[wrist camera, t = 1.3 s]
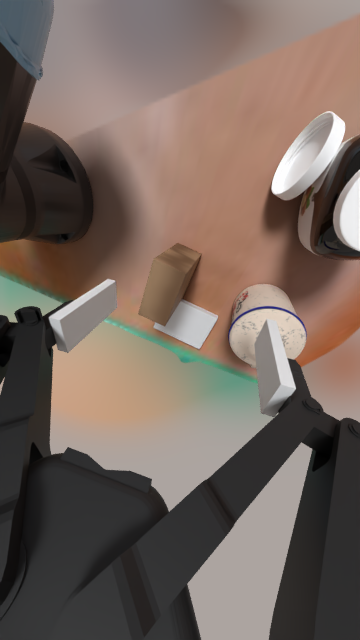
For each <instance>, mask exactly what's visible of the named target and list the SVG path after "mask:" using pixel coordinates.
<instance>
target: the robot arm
mask: <svg viewBox="0 0 360 640" xmlns="http://www.w3.org/2000/svg"><path fill="white" fill-rule="evenodd" d="M53 2H54V1H53V0H0V243H3V242H8V241H13V240H19V239H27V240H33V241H39V242H45V243H51V244H64V243H68V242H73V241H76V240H78V239H79V238H81V237H82V236H83V235H84V234H85V233H86V231H87V230H88V228H89V226H90V223H91V219H92V213H93V199H92V192H91V188H90V184H89V180H88V178H87V175H86V172H85V170H84V168H83V166H82V164H81V162H80V161H79V159H78V157H77V156H76V154H75V153H74V151H73V150H72V149H71V148H70V146H69V145H68V144H67V143H66V142H65V141H64V140H63V139H61V138H60V137H59V136H58V135H56V134H55V133H53V132H52V131H50V130H47V129H45V128H42V127H39V126H37V125H34V124H31V123H26V122H23V121H24V118H25V115H26V112H27V109H28V106H29V103H30V99H31V96H32V93H33V90H34V87H35V84H36V80H39V79H41V77H42V75H43V70H42V66H41V64H42V60H43V56H44V52H45V47H46V43H47V39H48V35H49V31H50V27H51V23H52V19H53V12H54V3H53ZM116 308H117V294H116V281H114V280H110V279H107V280H106V281H104V282H102V283H101V284H99V285H98V286H96V287H95V288H93V289H92V290H90V291H88V292H87V293H85V294H84V295H82V296H81V297H79V298H78V299H76V300H71V301H68V302H65V303H64V304H62V305H60V306H59V307H57V308H56V309H54V310H52V311H51V312H49V313H47V314H46V315H45V316H43V317H42V313H41V311H40V308H38V307H34V306H29V307H23V308H21V309H19V310H17V311H16V312H15V313H14V314H15V316H16V319H17V321H18V323H13V322H9V320H8V318H7V317H6V316H3V315H0V384H1V382H2V380H3V378H4V377H5V379H4V384H3V387H2V391H1V395H0V640H201V637H200V633H199V629H198V625H197V621H196V617H195V613H194V609H193V605H192V601H191V597H190V593H189V589H188V585H187V583H188V582H189V581H190V580H191V578H192V577H193V576H194V575H195V573H196V572H197V571H198V570H199V569H200V567H201V566H202V565H203V564H204V562H205V561H206V560H207V559H208V557H209V556H210V555H211V554H212V553H213V551H214V550H215V549H216V548H217V547H218V545H219V544H220V543H221V542H222V540H223V539H224V538H225V537H226V536H227V534H228V533H229V532H230V530H231V529H232V527H233V526H234V524H235V522H236V521H237V520H238V518H239V517H240V516H241V515H242V514H243V512H244V511H245V510H246V509H247V507H248V506H249V505H250V503H252V501H253V500H254V499H255V498H256V496H257V495H258V494H259V493H260V492H261V490H262V489H263V488H264V487H265V485H266V484H267V483H268V482H269V481H270V480H271V478H272V477H273V476H274V475H275V473H276V472H277V471H278V470H279V469H280V467H281V466H282V465H283V464H284V462H285V461H286V460H287V459H288V458H289V457H290V455H291V454H292V453H293V452H294V450H295V449H296V448H297V447H298V445H299V444H300V443H301V442H302V443H304V444H305V445H307V446H309V447H310V448H312V449H313V450H312V454H311V458H310V462H309V466H308V470H307V475H306V479H305V483H304V487H303V491H302V496H301V500H300V504H299V508H298V513H297V517H296V520H295V525H294V529H293V533H292V537H291V541H290V545H289V549H288V554H287V558H286V562H285V566H284V570H283V574H282V579H281V583H280V587H279V591H278V595H277V600H276V603H275V608H274V612H273V618H272V623H271V628H270V635H269V640H360V423H359V422H358V421H356V420H353V419H351V418H343V419H342V420H341V421H339V420H337V419H335V418H334V417H332V416H330V415H328V414H326V413H325V412H323V408H322V407H321V405H320V404H319V403H318V402H317V401H316V400H315V399H313V398H312V397H311V395H310V392H309V389H308V386H307V384H306V381H305V379H304V375H303V374H302V373H303V372H302V370H301V367H300V365H299V364H298V363H297V362H296V360H293V359H289V358H287V356H286V353H285V349H284V346H283V342H282V339H281V335H280V332H279V329H278V325H277V322H276V321H274V320H270V319H266V321H265V323H264V325H263V327H262V329H261V331H260V333H259V335H258V337H257V339H256V341H255V344H254V347H255V357H256V367H257V377H258V387H259V397H260V407H261V413H262V414H266V415H269V416H272V417H274V416H275V415H276V414H277V413H278V412H279V414H278V415H277V416H276V417H275V418H274V419H273V420H271V421H270V422H269V423H268V424H267V425H266V426H265V427H264V428H263V429H262V430H261V431H260V432H258V433H257V434H256V435H255V436H254V437H253V438H252V439H251V440H250V441H249V442H248V443H247V444H245V445H244V446H243V447H242V448H241V449H240V450H239V451H238V452H237V453H236V454H235V455H234V456H233V457H231V458H230V459H229V460H228V461H227V462H226V463H225V464H224V465H223V466H222V467H221V468H219V469H218V470H217V471H216V472H215V473H214V474H213V475H212V476H211V477H210V478H208V479H207V480H205V481H203V482H202V483H201V484H200V485H198V486H197V487H196V488H195V489H194V490H193V491H192V492H191V493H190V494H189V495H187V496H186V497H185V498H184V499H183V500H182V501H181V502H180V503H179V504H178V505H176V506H175V508H173V509H172V510H171V511H170V512H169V511H168V508H167V506H166V504H165V502H164V500H163V498H162V497H161V495H160V494H159V493H158V492H157V490H156V489H155V488H154V487H152V486H151V481H152V479H150V478H147V477H145V476H142V475H139V474H137V473H134V472H131V471H118V470H117V471H116V470H105V469H103V468H102V467H101V466H100V465H99V464H98V463H96V462H95V461H94V460H93V459H92V458H91V457H90V456H88V455H87V454H84V453H82V452H79V451H76V450H74V449H71V448H69V447H68V448H67V449H66V451H65V452H64V453H61V454H60V453H59V454H53V455H51V451H50V444H49V443H50V442H49V441H50V415H51V389H52V365H53V349H52V346H54V345H55V344H57V348H58V350H60V351H64V352H67V353H68V352H69V351H70V350H72V349H73V348H74V347H75V346H76V345H77V344H78V343H79V342H80V341H81V340H82V339H83V338H85V337H86V336H87V335H88V334H89V333H90V332H91V331H92V330H93V329H94V328H95V327H96V326H98V325H99V324H100V323H101V322H102V321H103V320H104V319H105V318H106V317H107V316H108V315H109V314H111V313H112V312H113V311H114V310H115V309H116Z"/></svg>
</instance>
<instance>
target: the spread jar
mask: <svg viewBox="0 0 360 640" xmlns="http://www.w3.org/2000/svg"><path fill="white" fill-rule="evenodd" d="M344 132H345V123H344V122H343V120H341V119H340V118H339V117H338V116H337V115H335V114H334V113H333V112H330V111H328V112H325V113H323V114H321V115H319V116H318V117H317V118H315V119H314V120H313V121H312V122H311V123H310V124H309V125H308V126H307V127H306V128H305V129H304V130H303V131H302V132H301V133H300V134H299V136H298V137H297V138H296V139H295V141H294V142H293V143H292V145H291V146H290V147H289V149H288V150H287V152H286V153H285V155H284V157H283V159H282V160H281V162H280V164H279V166H278V168H277V170H276V172H275V175H274V178H273V181H272V187H271V190H272V193H273V194H274V195H276V196H277V197H279V198H281V199H282V200H290V199H293V198H295V197H297V196H298V195H300V194H301V193H302V192H304V191H305V192H304V194H303V197H302V200H301V204H300V209H299V216H298V235H299V239H300V242H301V243H302V245H303V246H304V247H305V248H307V249H308V250H309V251H311V252H312V253H314V254H316V255H318V256H322V257H325V258H330V259H336V260H360V134H359V135H357V136H354V137H352V138H350V139H348V140H346V141H345V142H343V143H341V142H342V139H343V136H344Z"/></svg>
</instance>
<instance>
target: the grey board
mask: <svg viewBox="0 0 360 640" xmlns="http://www.w3.org/2000/svg"><path fill="white" fill-rule="evenodd" d="M217 319H218V315H215V314H213V313H211V312H209V311H207V310H205V309H203V308H201V307H198V306H196V305H194V304H192V303H190V302H188V301H186V300H184V299H182V300H181V301H180V303H179V305H178V306H177V308H176V310H175V311H174V313H173V314H172V316H171V318H170V319H169V321H168V323H167V324H166V326H165V327H164V326H162V325H160V324H158V323H156V322H155V325H154V327H153V328H155V329H158V330H160V331H162V332H164V333H166V334H168V335H170V336H172V337H174V338H176V339H179V340H181V341H183V342H185V343H187V344H189V345H191V346H193V347H195V348H197V349H200V348H201V346H202V344H203V342H204V341H205V339H206V337H207V336H208V334H209V332H210V331H211V329H212V327H213V326H214V324H215V322H216V321H217Z"/></svg>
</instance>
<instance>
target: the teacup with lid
mask: <svg viewBox="0 0 360 640" xmlns="http://www.w3.org/2000/svg"><path fill="white" fill-rule="evenodd" d="M266 319H270V320H274V321H276V322H277V325H278V329H279V332H280V335H281V339H282V342H283V346H284V349H285V353H286V356H287V358H289V359H295V358H296V357H297V356H298V355H299V354H300V353H301V351H302V350H303V348H304V346H305V343H306V337H307V334H306V329H305V326H304V324H303V322H302V321H301V320H300V318H299V317H298V316H297V314H296V312H295V310H294V308H293V306H292V304H291V302H290V300H289V298H288V296H287V294H286V293H285V292H284V291H283V290H281V289H280V288H278V287H276V286H273V285H269V284H257V285H253V286H250V287H248V288H246V289H245V290H243V291H242V292H241V293H240V294H239V295H238V296H237V298H236V299H235V301H234V304H233V312H232V322H231V327H230V329H229V334H228V339H229V344H230V346H231V348H232V350H233V352H234V353H235V354H236V355H237V356H238V357H239V358H240V359H241V360H243V361H244V362H246V363H248V364H250V366H251V367H252V368H257V367H256V357H255V347H254V344H255V341H256V339H257V337H258V335H259V333H260V331H261V329H262V327H263V325H264V323H265V321H266Z"/></svg>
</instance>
